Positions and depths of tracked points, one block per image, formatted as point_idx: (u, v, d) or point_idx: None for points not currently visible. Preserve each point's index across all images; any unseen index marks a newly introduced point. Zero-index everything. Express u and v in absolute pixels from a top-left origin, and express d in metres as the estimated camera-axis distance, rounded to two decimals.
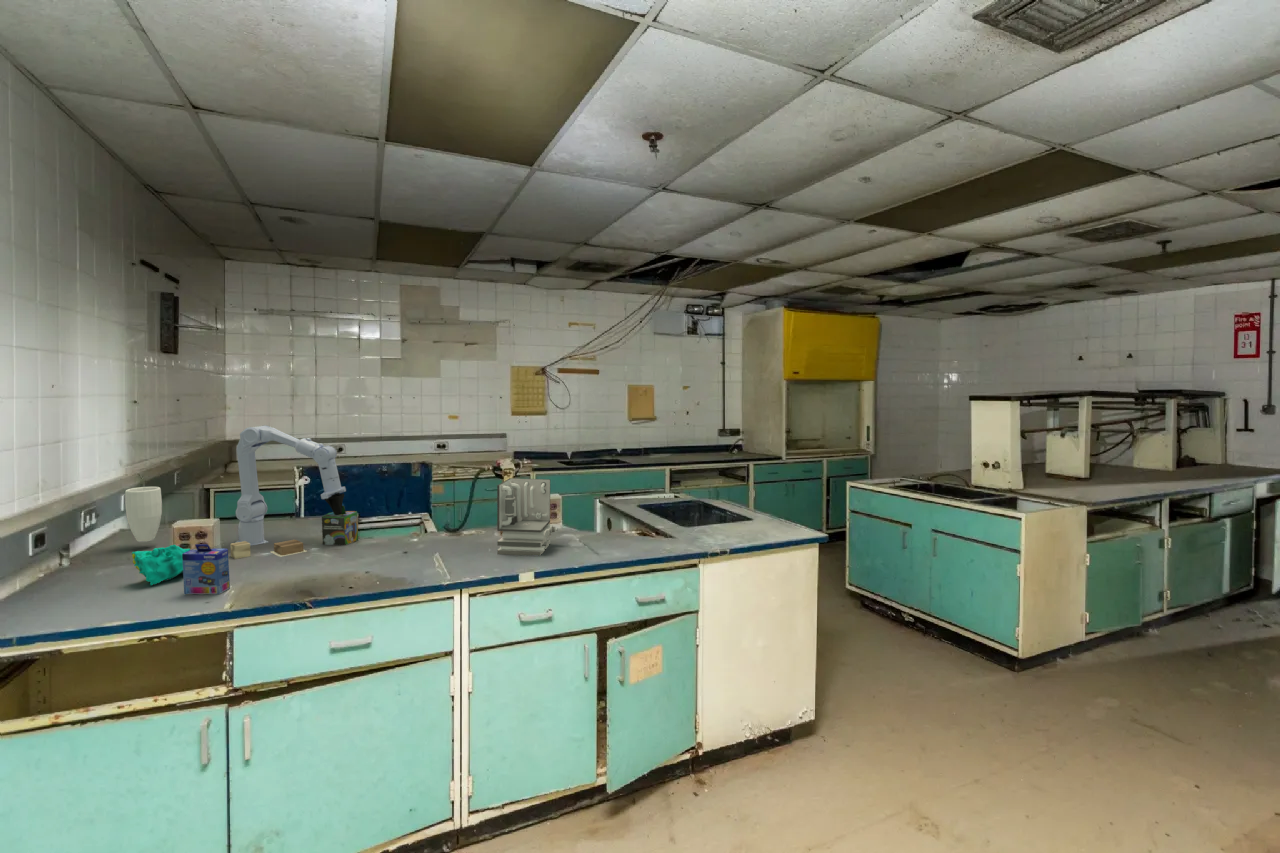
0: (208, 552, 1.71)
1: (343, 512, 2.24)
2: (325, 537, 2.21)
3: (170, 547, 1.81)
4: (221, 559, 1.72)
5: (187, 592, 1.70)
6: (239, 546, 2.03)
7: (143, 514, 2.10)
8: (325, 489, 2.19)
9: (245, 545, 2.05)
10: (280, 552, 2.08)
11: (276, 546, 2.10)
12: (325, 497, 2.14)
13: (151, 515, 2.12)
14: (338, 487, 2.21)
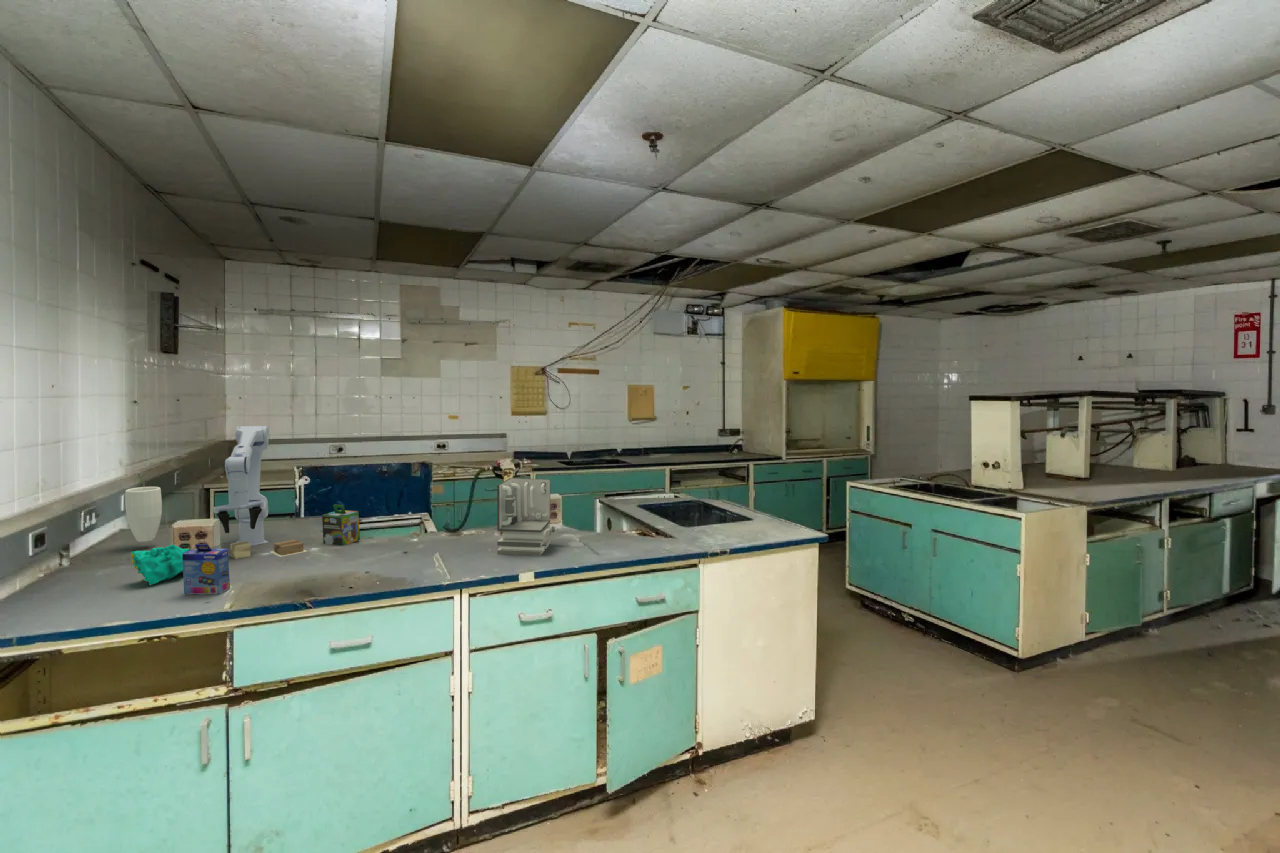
0: (208, 552, 1.71)
1: (343, 512, 2.24)
2: (325, 536, 2.22)
3: (169, 547, 1.81)
4: (221, 559, 1.72)
5: (187, 592, 1.70)
6: (239, 546, 2.03)
7: (143, 514, 2.10)
8: None
9: (245, 545, 2.05)
10: (280, 552, 2.08)
11: (276, 546, 2.10)
12: (214, 512, 1.98)
13: (151, 515, 2.12)
14: (238, 503, 2.02)
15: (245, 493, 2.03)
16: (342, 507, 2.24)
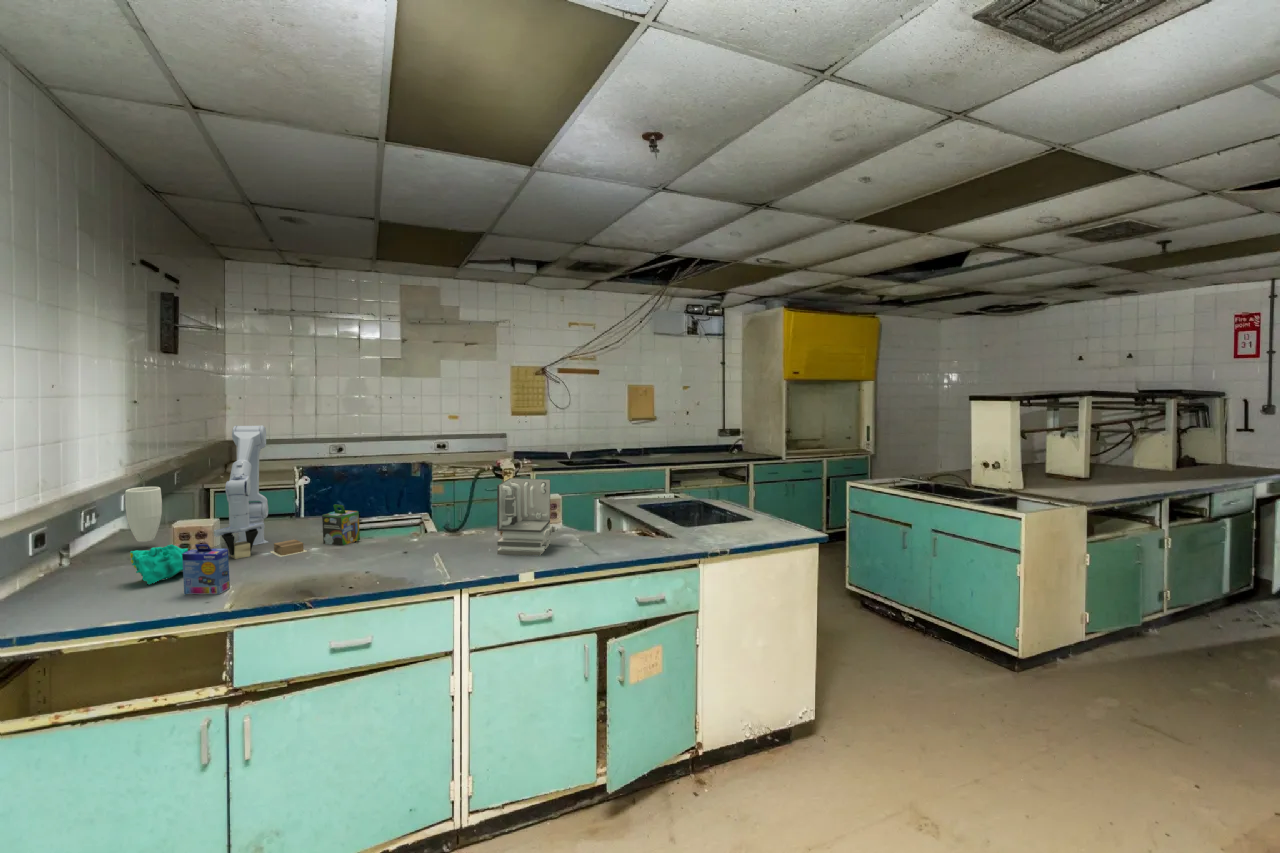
0: (208, 552, 1.71)
1: (343, 512, 2.24)
2: (325, 536, 2.22)
3: (167, 547, 1.81)
4: (221, 559, 1.72)
5: (187, 592, 1.70)
6: (239, 546, 2.03)
7: (143, 514, 2.10)
8: None
9: (245, 545, 2.05)
10: (280, 552, 2.08)
11: (276, 546, 2.10)
12: (215, 535, 1.99)
13: (151, 515, 2.12)
14: (239, 526, 2.02)
15: (246, 516, 2.04)
16: (342, 507, 2.24)
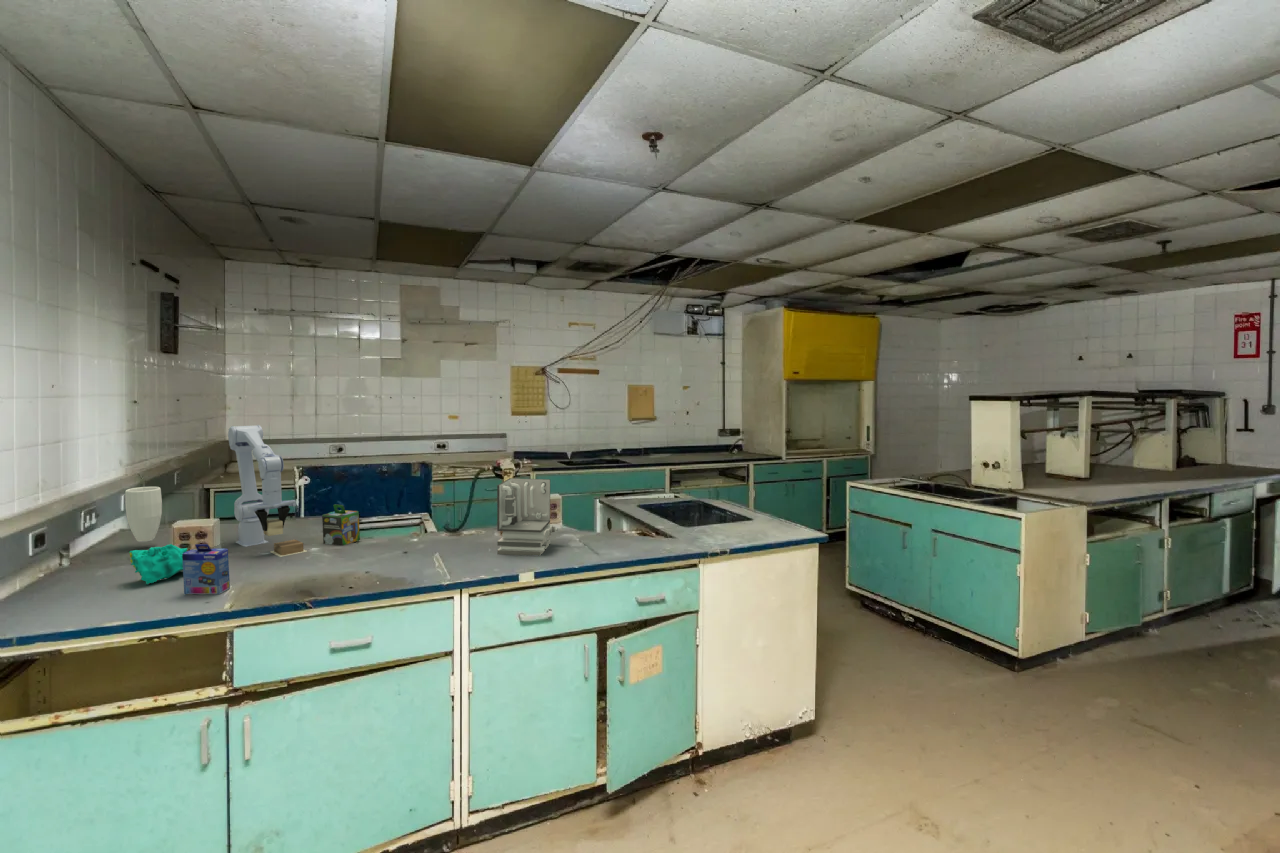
0: (208, 552, 1.71)
1: (343, 512, 2.24)
2: (325, 536, 2.22)
3: (166, 547, 1.81)
4: (221, 559, 1.72)
5: (187, 592, 1.70)
6: (272, 523, 2.07)
7: (143, 514, 2.10)
8: None
9: (278, 522, 2.08)
10: (280, 552, 2.08)
11: (276, 546, 2.10)
12: (249, 510, 2.03)
13: (151, 515, 2.12)
14: (272, 502, 2.06)
15: (278, 492, 2.08)
16: (342, 507, 2.24)
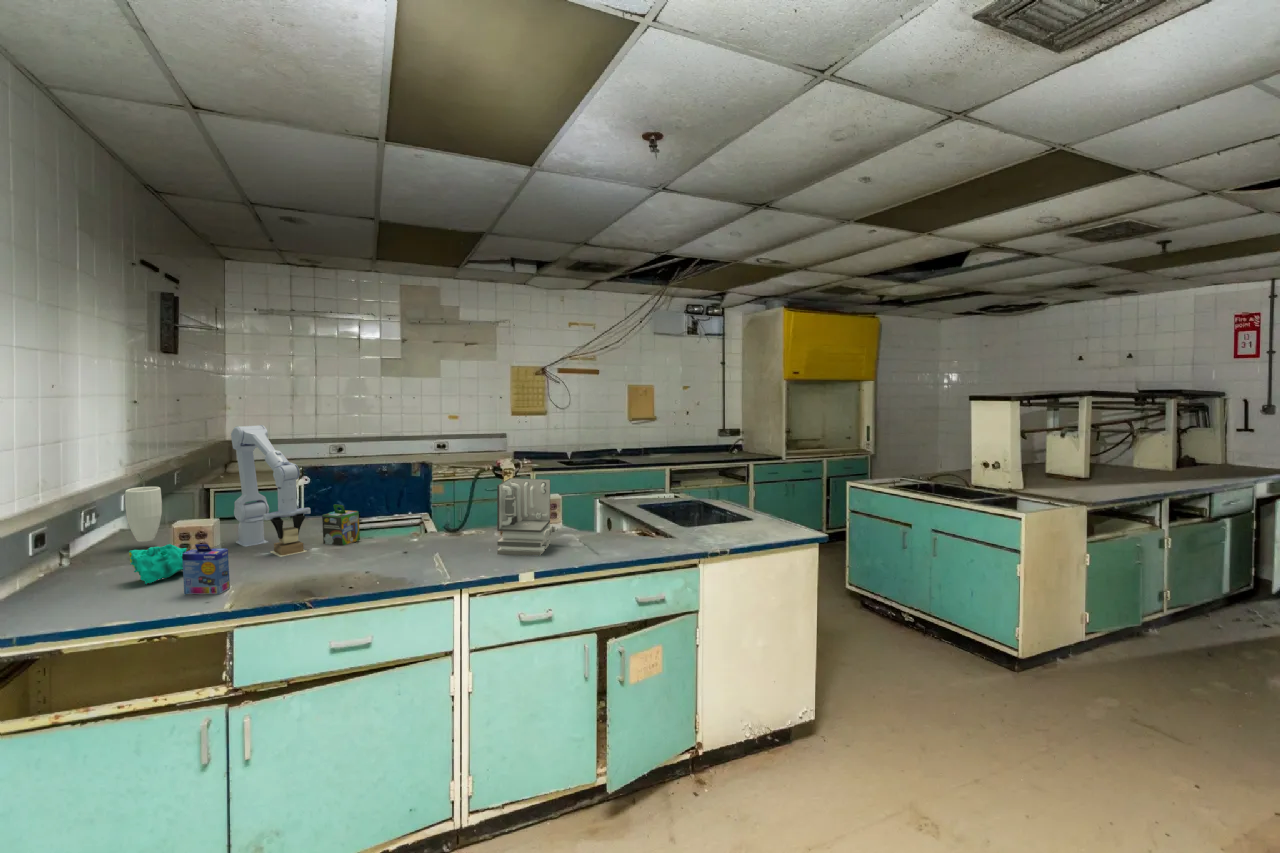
0: (208, 552, 1.71)
1: (343, 512, 2.24)
2: (325, 536, 2.22)
3: (166, 546, 1.81)
4: (221, 559, 1.72)
5: (187, 592, 1.70)
6: (288, 531, 2.09)
7: (143, 514, 2.10)
8: None
9: (294, 530, 2.11)
10: (280, 552, 2.08)
11: (276, 546, 2.10)
12: (265, 518, 2.05)
13: (151, 515, 2.12)
14: (287, 510, 2.08)
15: (294, 500, 2.10)
16: (342, 507, 2.24)
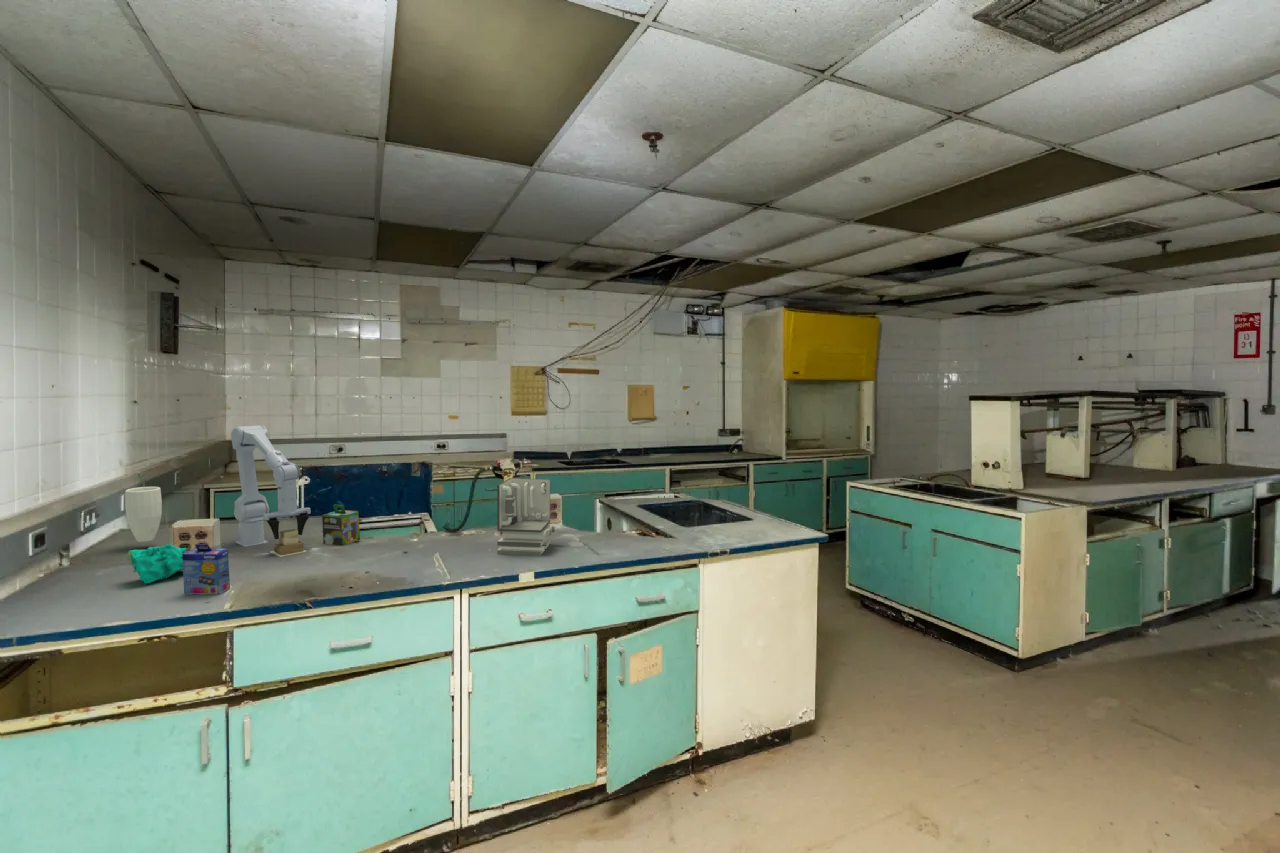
0: (208, 552, 1.71)
1: (343, 512, 2.24)
2: (325, 536, 2.22)
3: (165, 546, 1.82)
4: (221, 559, 1.72)
5: (187, 592, 1.70)
6: (288, 533, 2.09)
7: (143, 514, 2.10)
8: None
9: (293, 532, 2.11)
10: (280, 552, 2.08)
11: (276, 546, 2.10)
12: (265, 518, 2.05)
13: (151, 515, 2.12)
14: (287, 510, 2.08)
15: (294, 500, 2.10)
16: (342, 507, 2.24)
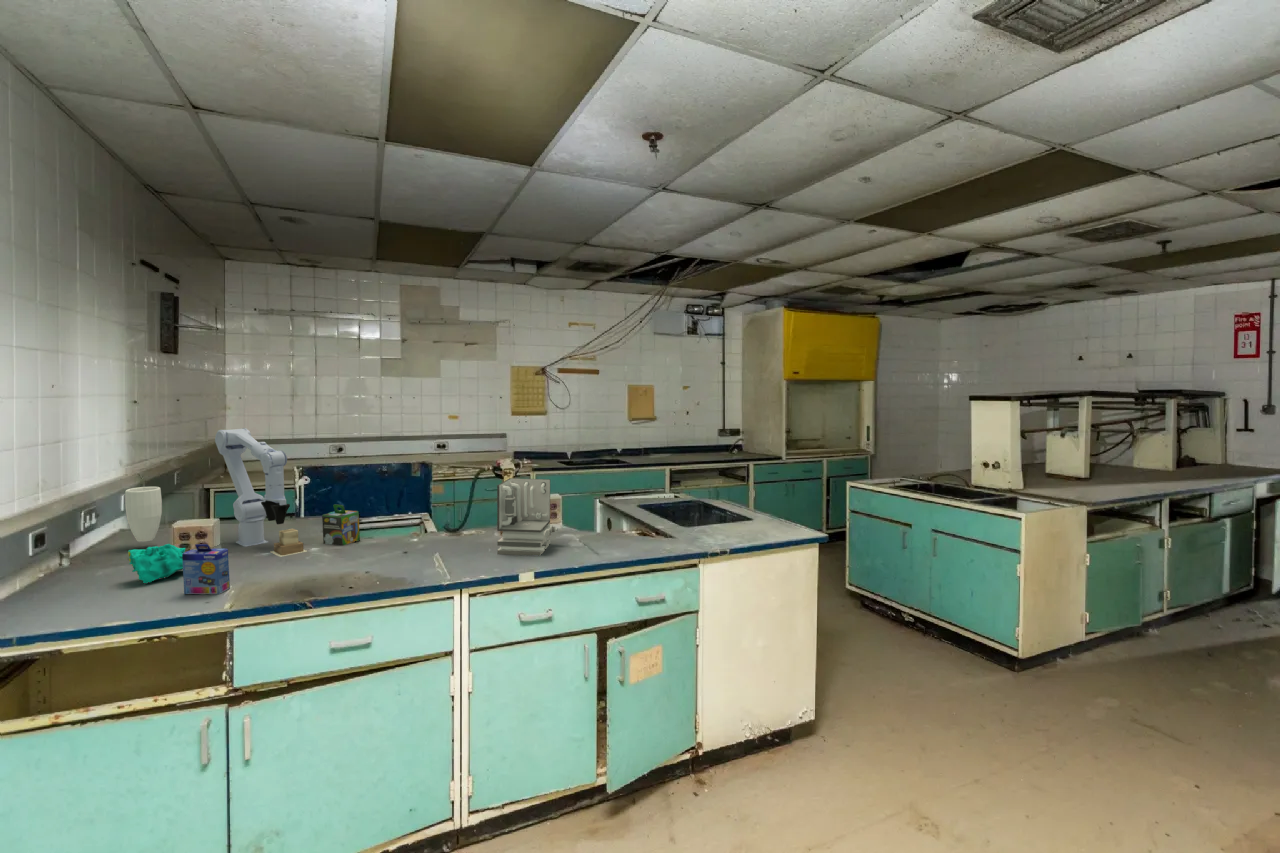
0: (208, 552, 1.71)
1: (343, 512, 2.24)
2: (325, 536, 2.22)
3: (164, 546, 1.82)
4: (221, 559, 1.72)
5: (187, 592, 1.70)
6: (288, 533, 2.09)
7: (143, 514, 2.10)
8: None
9: (293, 532, 2.11)
10: (280, 552, 2.08)
11: (276, 546, 2.10)
12: None
13: (151, 515, 2.12)
14: (265, 495, 2.13)
15: (268, 487, 2.12)
16: (342, 507, 2.24)
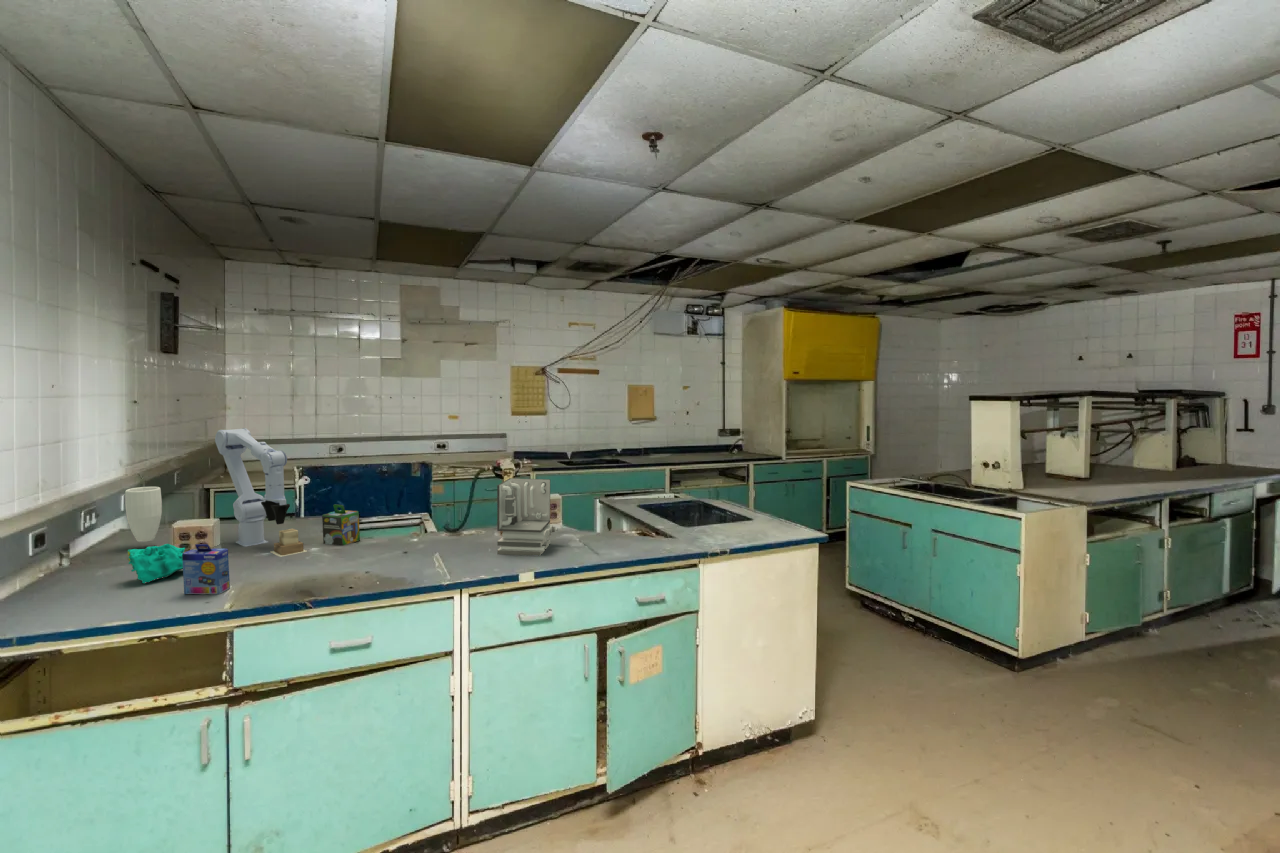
0: (208, 552, 1.71)
1: (343, 512, 2.24)
2: (325, 536, 2.22)
3: (163, 546, 1.82)
4: (221, 559, 1.72)
5: (187, 592, 1.70)
6: (288, 533, 2.09)
7: (143, 514, 2.10)
8: None
9: (293, 532, 2.11)
10: (280, 552, 2.08)
11: (276, 546, 2.10)
12: None
13: (151, 515, 2.12)
14: (265, 495, 2.13)
15: (268, 487, 2.12)
16: (342, 507, 2.24)
